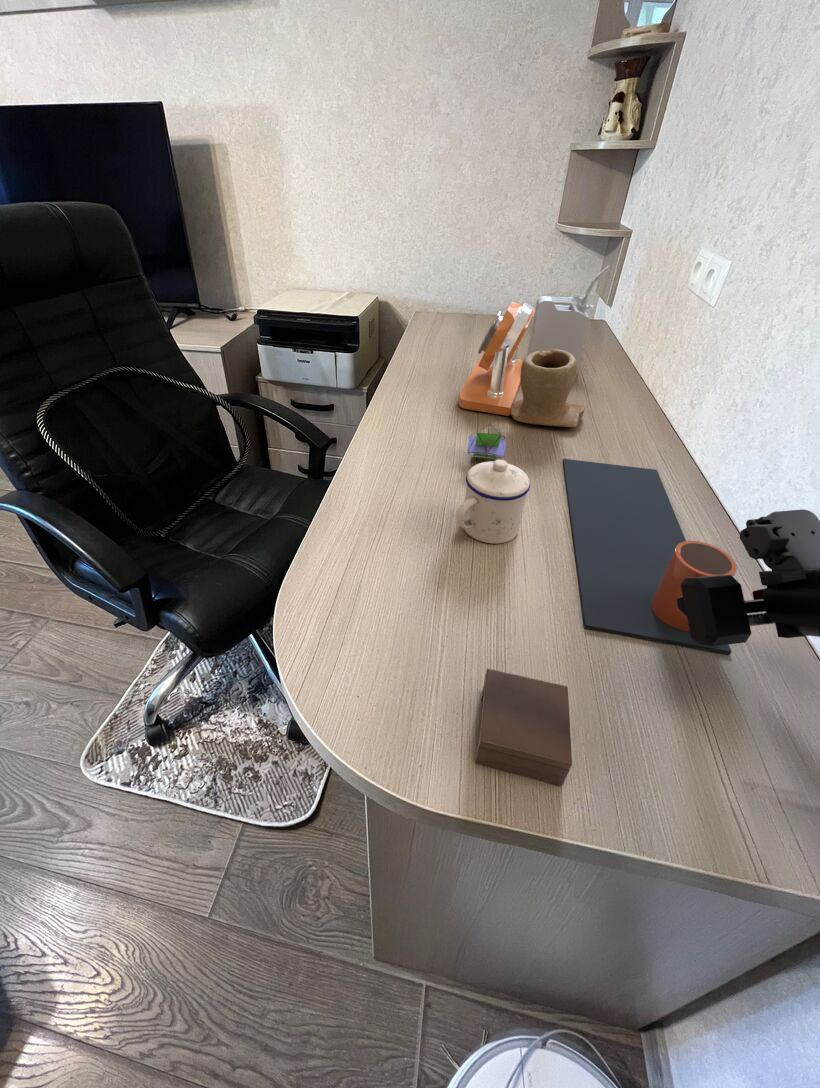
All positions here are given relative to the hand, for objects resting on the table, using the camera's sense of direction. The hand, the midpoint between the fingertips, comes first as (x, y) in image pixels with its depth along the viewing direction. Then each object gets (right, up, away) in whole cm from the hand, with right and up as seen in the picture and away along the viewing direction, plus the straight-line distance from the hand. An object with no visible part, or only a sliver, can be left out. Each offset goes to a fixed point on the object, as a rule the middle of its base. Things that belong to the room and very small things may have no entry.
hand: (716, 599), depth 56 cm
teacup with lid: (-22, +6, +21) cm, 30 cm away
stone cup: (-2, +26, +50) cm, 56 cm away
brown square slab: (-24, -12, -6) cm, 28 cm away
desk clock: (-9, +37, +65) cm, 75 cm away
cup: (0, -3, +6) cm, 7 cm away
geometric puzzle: (-18, +17, +37) cm, 45 cm away
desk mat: (0, +5, +19) cm, 20 cm away
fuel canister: (+10, +44, +75) cm, 88 cm away
